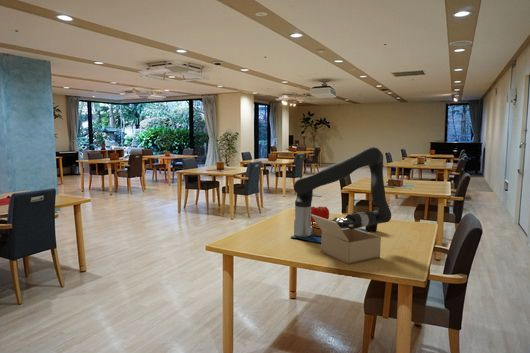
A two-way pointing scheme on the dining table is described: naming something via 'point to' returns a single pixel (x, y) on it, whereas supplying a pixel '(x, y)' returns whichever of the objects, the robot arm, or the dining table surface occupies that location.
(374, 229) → the coffee mug
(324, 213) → the tomato
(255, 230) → the dining table surface
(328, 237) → the carton
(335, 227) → the carton flap
